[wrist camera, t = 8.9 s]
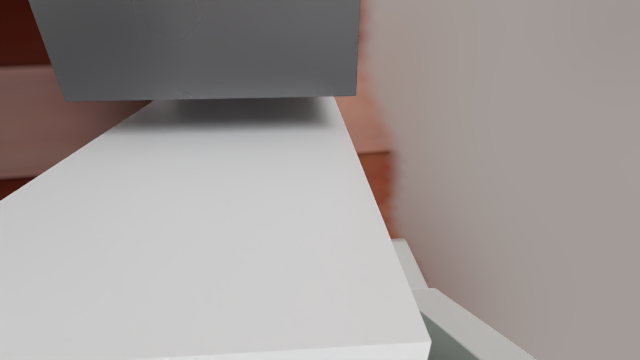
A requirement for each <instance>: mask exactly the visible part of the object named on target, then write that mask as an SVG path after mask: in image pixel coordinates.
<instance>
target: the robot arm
mask: <svg viewBox="0 0 640 360" xmlns="http://www.w3.org/2000/svg"><path fill="white" fill-rule="evenodd" d="M391 241H392V244H393V246H394V249H395V251H396V254H397V256H398V259H399V261H400V264H401V266H402V269H403V271H404V274H405V276H406V279H407V281H408V284H409V286H410V289H411V291H412V294H413V296H414V299H415V301H416V304H417V306H418V309H419V311H420V314H421V316H422V319H423V321H424V324H425V326H426V329H427V331H428V334H429V336H430V339H431V341H432V342H431V347H430V351H429V355H428V359H427V360H537V359H535V358H534V357H532V356H531V355H529V354H528V353H527V352H525V351H524V350H522V349H521V348H520V347H518V346H517V345H515V344H514V343H512V342H511V341H510V340H508V339H507V338H505V337H504V336H502V335H501V334H500V333H498V332H497V331H495V330H494V329H492V328H491V327H490V326H488V325H487V324H485V323H484V322H483V321H481V320H480V319H478V318H477V317H475V316H474V315H472V314H471V313H469V312H468V311H467V310H465V309H464V308H462V307H461V306H460V305H458V304H457V303H455V302H454V301H452V300H451V299H450V298H448V297H447V296H445V295H444V294H443V293H441V292H440V291H438V290H437V289H436V288H428V286H427V284H426V282H425V280H424V278H423V276H422V274H421V271H420V269H419V267H418V265H417V263H416V261H415V259H414V257H413V255H412V252H411V250H410V248H409V246H408V244H407V242H406V240H404V239H403V238H401V239H391Z"/></svg>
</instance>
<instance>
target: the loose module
mask: <svg viewBox="0 0 640 360" xmlns="http://www.w3.org/2000/svg"><path fill="white" fill-rule="evenodd" d="M431 342H432V341H431V339H430V336H429V334H428V331H427V329H426V326H425V324H424V321H423V319H422V316H421V314H420V311H419V309H418V306H417V304H416V301H415V299H414V296H413V294H412V291H411V289H410V286H409V284H408V281H407V279H406V276H405V274H404V271H403V269H402V266H401V264H400V261H399V259H398V256H397V254H396V251H395V249H394V246H393V244H392V241H391V239H390V236H389V234H388V231H387V229H386V226H385V224H384V221H383V219H382V216H381V214H380V211H379V209H378V206H377V204H376V201H375V199H374V196H373V194H372V191H371V189H370V186H369V184H368V181H367V179H366V176H365V174H364V171H363V169H362V166H361V164H360V161H359V159H358V156H357V154H356V151H355V148H354V146H353V143H352V141H351V138H350V136H349V133H348V131H347V128H346V126H345V123H344V121H343V118H342V116H341V113H340V111H339V108H338V106H337V103H336V101H335V98H334V96H333V97H279V98H225V99H175V100H154V101H152V102H151V103H149V104H148V105H146V106H145V107H143V108H142V109H140V110H139V111H137V112H136V113H134V114H133V115H131V116H129V117H128V118H126V119H125V120H123V121H122V122H120V123H119V124H117V125H116V126H114V127H113V128H111V129H110V130H108V131H107V132H105V133H104V134H102V135H100V136H99V137H97V138H96V139H94V140H93V141H91V142H90V143H88V144H87V145H85V146H84V147H82V148H81V149H79V150H78V151H76V152H75V153H73V154H71V155H70V156H68V157H67V158H65V159H64V160H62V161H61V162H59V163H58V164H56V165H55V166H53V167H52V168H50V169H49V170H47V171H46V172H44V173H42V174H41V175H39V176H38V177H36V178H35V179H33V180H32V181H30V182H29V183H27V184H26V185H24V186H23V187H21V188H20V189H18V190H17V191H15V192H13V193H12V194H10V195H9V196H7V197H6V198H4V199H3V200H1V201H0V360H427V359H428V355H429V351H430V347H431Z"/></svg>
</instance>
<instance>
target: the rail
mask: <svg viewBox="0 0 640 360" xmlns="http://www.w3.org/2000/svg"><path fill="white" fill-rule="evenodd" d="M28 1H29V3H30V6H31V9H32V12H33V14H34V17H35V20H36V23H37V25H38V28H39V31H40V33H41V36H42V39H43V42H44V44H45V47H46V50H47V53H48V55H49V58H50V61H51V64H52V66H53V69H54V72H55V75H56V77H57V80H58V83H59V85H60V88H61V91H62V94H63V96H64V99H65V101H117V100H151V101H154V100H175V99H225V98H279V97H333V96H356V86H357V64H358V43H359V21H360V0H28Z"/></svg>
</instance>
